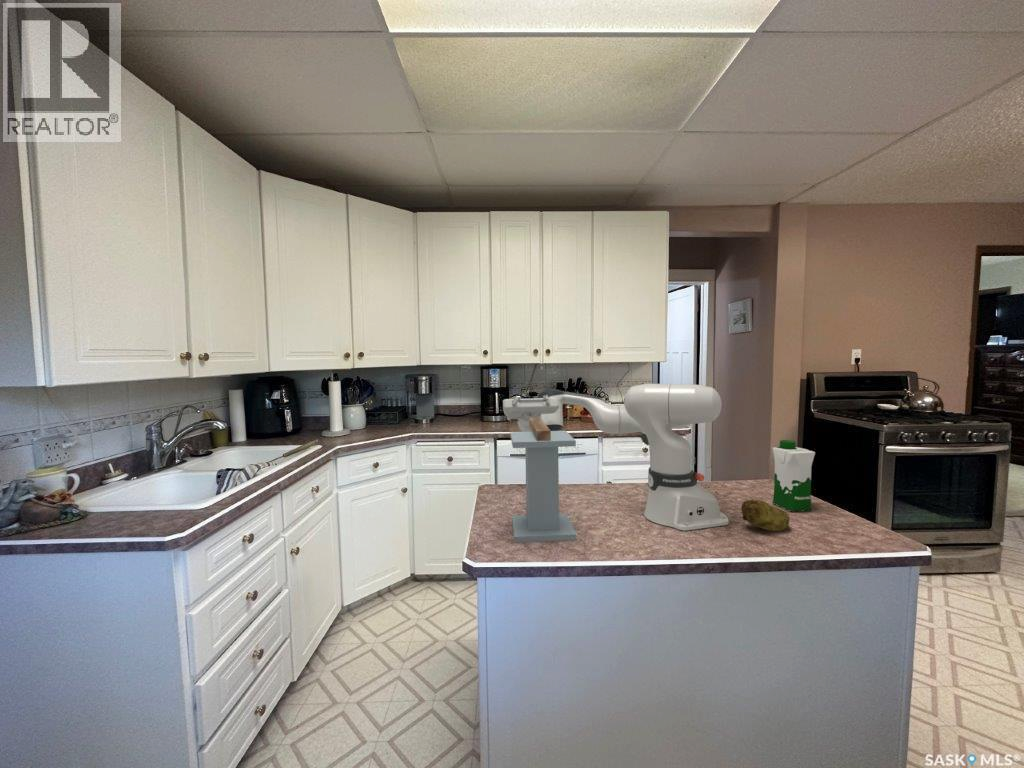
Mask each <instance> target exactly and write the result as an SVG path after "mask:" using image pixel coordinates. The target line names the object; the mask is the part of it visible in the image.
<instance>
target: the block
mask: <svg viewBox="0 0 1024 768" xmlns="http://www.w3.org/2000/svg"><path fill="white" fill-rule="evenodd" d="M529 427H530V429H531V430H532V432H533V434H534V436H535V438H536V440H537V441H549V440H551V431H550V429H549V428H548V427H547V426H546V424H545V423H544V422H543V421H542V419H541V418H529Z"/></svg>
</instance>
